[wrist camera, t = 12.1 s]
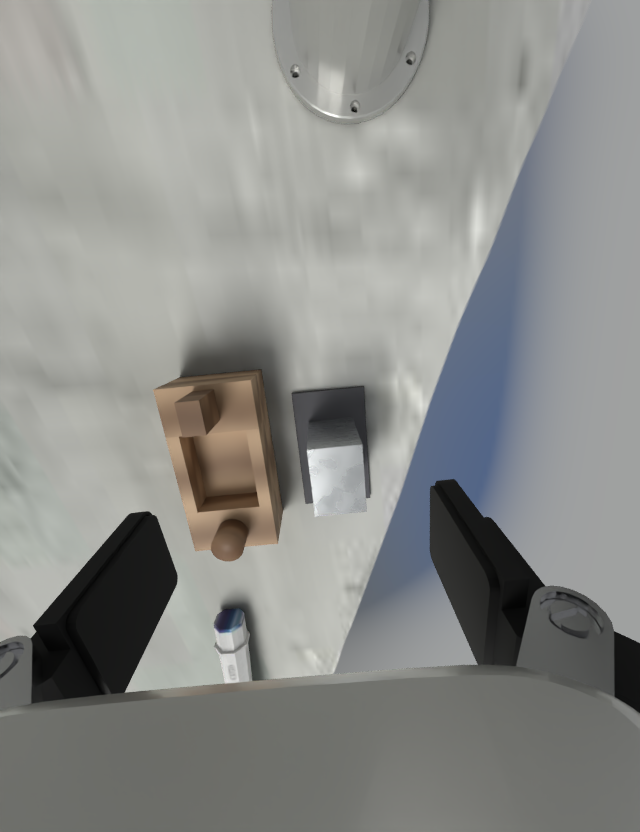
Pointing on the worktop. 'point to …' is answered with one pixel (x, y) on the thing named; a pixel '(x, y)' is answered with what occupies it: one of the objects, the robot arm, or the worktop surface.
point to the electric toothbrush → (233, 645)
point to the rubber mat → (327, 408)
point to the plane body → (223, 460)
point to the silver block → (336, 467)
